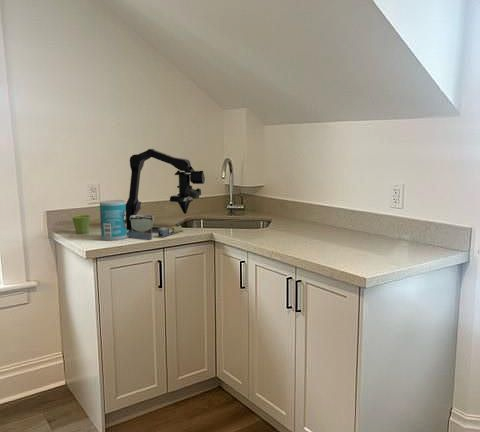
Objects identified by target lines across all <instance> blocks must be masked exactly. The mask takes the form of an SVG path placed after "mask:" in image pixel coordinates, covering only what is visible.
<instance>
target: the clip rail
mask: <svg viewBox="0 0 480 432" xmlns="http://www.w3.org/2000/svg"><path fill="white" fill-rule="evenodd" d="M168 228H169V227H166V228H161V229H158V233H157V238H161V239H163V238H166V237H170V236H173V235H177V234H180V232H181V233H184V230H181V231H179V232H176V233H172V231H169V233H168Z"/></svg>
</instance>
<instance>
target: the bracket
mask: <svg viewBox="0 0 480 432" xmlns="http://www.w3.org/2000/svg"><path fill="white" fill-rule="evenodd" d="M161 228H168V233H170V227H164V226H154V225H152V235H151V233H144V232H135V231H132V229H131V230H127V238H131V239H138V240H139V239H140V240H145V241H146V240H148V241H151V240H153V239H152V237H153V234H158V229H161Z"/></svg>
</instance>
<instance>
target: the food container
mask: <svg viewBox="0 0 480 432" xmlns="http://www.w3.org/2000/svg"><path fill="white" fill-rule="evenodd" d="M129 220H131V227H132V231H135V232H144V233H151V235H152V236H153V232H152V226H154V225H153V222H154V221H155V217H154V216H153V215H152V214H136V215H132V216H130V219H129Z"/></svg>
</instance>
